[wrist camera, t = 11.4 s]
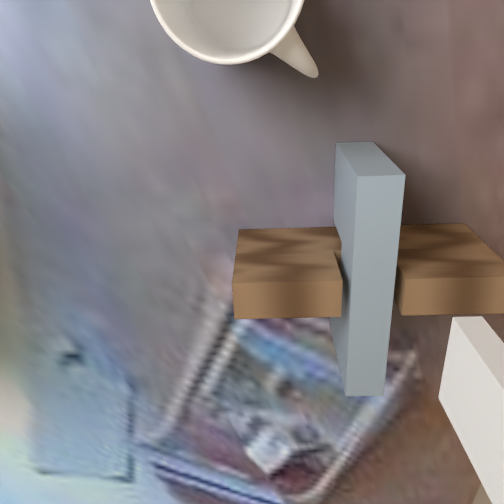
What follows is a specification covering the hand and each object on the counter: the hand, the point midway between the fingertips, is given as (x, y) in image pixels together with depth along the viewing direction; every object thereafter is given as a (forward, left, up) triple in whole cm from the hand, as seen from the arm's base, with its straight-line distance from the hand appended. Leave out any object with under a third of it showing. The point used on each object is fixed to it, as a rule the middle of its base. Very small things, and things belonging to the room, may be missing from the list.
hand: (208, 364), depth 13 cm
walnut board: (+9, -9, -29) cm, 32 cm away
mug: (+1, +10, -29) cm, 31 cm away
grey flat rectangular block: (+9, -9, -29) cm, 32 cm away
